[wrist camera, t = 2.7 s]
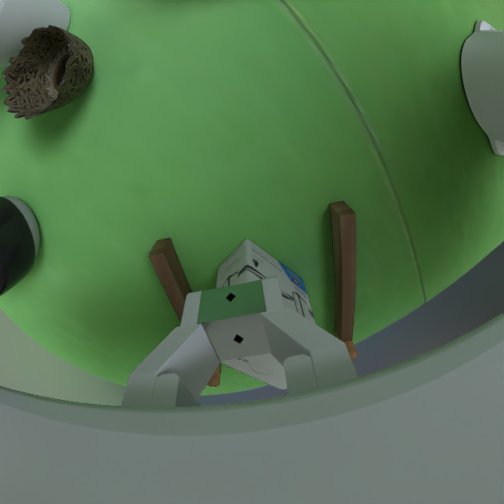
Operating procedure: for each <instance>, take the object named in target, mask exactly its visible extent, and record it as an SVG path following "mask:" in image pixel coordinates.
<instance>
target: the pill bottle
mask: <svg viewBox="0 0 504 504" xmlns="http://www.w3.org/2000/svg"><path fill="white" fill-rule="evenodd" d="M69 24H70V11H69V8H68V7H67V6H66V5H65V4H64V3H63V2H61V1H59V0H0V67H8V66H10V65H11V64H10V63H9V59H10V58H11V57H15V56H17V55H18V54H19V51H20V50H21V49H22V48H23V47H24V46H25V45H22V43H21V40H22V39H23V38H25V37H29V36H30V34H31V32H32V30H34V29H36V28H40V27H48V25H53V26H56V27H58V28H59V27H60V28H62V29H64V30H65V31H68V28H69Z"/></svg>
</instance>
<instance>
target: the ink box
mask: <svg viewBox="0 0 504 504" xmlns="http://www.w3.org/2000/svg"><path fill="white" fill-rule="evenodd" d="M272 276H277V277H278V281H279V285H280V290H281V294H282V298H283V303H284V307H285V308H288V307H290V308H291V309H293V310H294V311H296V312H297V313H299V314H301V315H302V316H304V317H305V318H307V319H308V320H310V321H311V322H313V323H314V324H316V323H315V319H314V316H313V313H312V309H311V306H310V302H309V299H308V296H307V292H306V289H305V285H304V282H303V280H302V279H301V278H300V277H298V276H297V275H296V274H295V273H293V272H292V271H291V270H289V269H288V268H287V267H285V266H284V265H283V264H281V263H280V262H278V261H277V260H276V259H274V258H273V257H272V256H270V255H269V254H268V253H266V252H265V251H264V250H262V249H261V248H260V247H258V246H257V245H256V244H254V243H253V242H252V241H250V240H249V239H245V240H244V241H243V242H242V243H241V244H240V245H239V246H238V247H237V248H236V249H235V250H234V251H233V252H232V254H230V256H229V257H228V258H227V259H226V260H225V261H224V262H223V263H222V264H221V265H220V266H219V267H218V275H217V283H216V288H219V287H225V286H231V285H232V286H233V285H238V284H242V283H247V282H252V281H257V280H262V279H264V278H268V277H272ZM220 362H222V363H224V364H226V365H228V366H230V367H232V368H234V369H236V370H238V371H240V372H242V373H245V374H247V375H249V376H251V377H253V378H256V379H258V380H260V381H263V382H265V383H267V384H269V385H272V386H274V387H277V388H278V389H287V383H286V377H285V370H284V366H283V365H282V364H281V363H280V362H279V361H278V360H277V359H276V358H275V357H274V356H273V355H272V354H271V353H269V354H263V355H256V356H249V357H243V358H237V359H231V360H225V361H220Z"/></svg>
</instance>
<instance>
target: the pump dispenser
mask: <svg viewBox="0 0 504 504" xmlns="http://www.w3.org/2000/svg"><path fill="white" fill-rule="evenodd" d="M39 244H40V233H39V227H38V224H37V221H36V218H35V216H34V214H33V213H32V211H31V210H30V208H29V207H28V206H27V205H26V204H25V203H24V202H23V201H21V200H19V199H17V198H15V197H9V196H5V197H0V296H1V295H3V294H4V293H6V292H7V291H8V290H10V289H11V288H12V287H14V286H15V285H16V284H17V283H19V282H20V281H21V280H22V279H23V278H24V277H25V276H26V275H27V274H28V273H29V272H30V271H31V270H32V268H33V266H34V262H35V259H36V256H37V254H38V250H39Z"/></svg>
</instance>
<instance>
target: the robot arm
mask: <svg viewBox="0 0 504 504" xmlns="http://www.w3.org/2000/svg"><path fill="white" fill-rule="evenodd" d="M461 68H462V78H463V83H464V88H465V92H466V96H467V99H468V102H469V105H470V108H471V110H472V112H473V114H474V116H475V118H476V120H477V122H478V123H479V125H480V126H481V128H482V129H483V130H484V132H485V133H486V134H487V136H488V137H489V140H490V143H491V146H492V149H493V151H494V153H495V154H496V155H500V156H503V155H504V31H503V30H495V29H494V28H493V27H492V26H490V25H489V24H488V23H486V22H485V21H477V22H476V25H475V31H474V33H473V34H472V35H471V36H470V37H468V39H467V40H466V41H465V43H464V46H463V50H462V57H461ZM269 353H271V354H272V355H273V356H274V357H275V358H276V359H277V360H278V361H279V362H280V363H281V364H282V365H283V366H284V370H285V377H286V383H287V390H288V395H284V396H279V397H273V398H267V399H261V400H254V401H246V402H238V403H230V404H220V405H207V406H201V405H200V404H199V403H198V401H197V399H198V397H199V396H200V394H201V393H202V391H203V390H204V388H205V386H206V385H207V383H208V382H209V380H210V378H211V377H212V375H213V374H214V372H215V370H216V369H217V367H218V366H219V364H220V361H225V360H231V359H237V358H243V357H249V356H256V355H263V354H269ZM0 504H504V313H502V314H501V315H499V316H497V317H496V318H494V319H492V320H491V321H489V322H487V323H486V324H484V325H482V326H480V327H478V328H477V329H475V330H473V331H471V332H469V333H467V334H465V335H463V336H461V337H460V338H458V339H455V340H453V341H451V342H450V343H447V344H445V345H443V346H441V347H439V348H436V349H434V350H432V351H430V352H427V353H425V354H422V355H420V356H417V357H415V358H412V359H410V360H408V361H405V362H402V363H400V364H397V365H394V366H392V367H389V368H386V369H383V370H380V371H377V372H374V373H371V374H368V375H365V376H361V377H357V374H356V372H355V368H354V366H353V363H352V360H351V358H350V355H349V353H348V350H347V348H346V345H345V343H344V342H342V341H341V340H339V339H338V338H336V337H335V336H333V335H331V334H330V333H328V332H327V331H325V330H324V329H322V328H321V327H319V326H317V325H316V324H314V323H313V322H311V321H310V320H308V319H307V318H305V317H304V316H302V315H301V314H299V313H297V312H296V311H294V310H293V309H291V308H290V307H288V308H285V307H284V303H283V298H282V294H281V290H280V285H279V281H278V277H277V276H272V277H268V278H264V279H262V280H257V281H252V282H247V283H242V284H238V285H233V286H232V285H231V286H225V287H219V288H213V289H207V290H203V291H196V292H191V293H188V294H187V296H186V300H185V305H184V310H183V315H182V320H181V325H180V327H176V328H175V329H174V330H173V331H172V332H171V333H170V334H169V335H168V336H167V337H166V338H165V339H164V340H163V341H162V342H161V343H160V344H159V345H158V346H157V347H156V348H155V349H154V350H153V351H152V352H151V353H150V354H149V355H148V356H147V357H146V358H145V359H144V360H143V361H142V362H141V363H140V364H139V365H138V366H137V367H136V368H135V369H134V370H133V371H132V372H131V374H130V375H129V379H128V383H127V386H126V390H125V394H124V398H123V402H122V406H109V405H98V404H88V403H79V402H72V401H66V400H60V399H54V398H49V397H43V396H39V395H33V394H29V393H25V392H21V391H17V390H13V389H9V388H6V387H2V386H0Z"/></svg>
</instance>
